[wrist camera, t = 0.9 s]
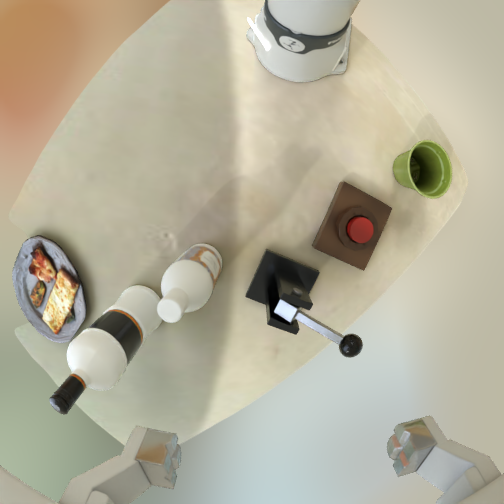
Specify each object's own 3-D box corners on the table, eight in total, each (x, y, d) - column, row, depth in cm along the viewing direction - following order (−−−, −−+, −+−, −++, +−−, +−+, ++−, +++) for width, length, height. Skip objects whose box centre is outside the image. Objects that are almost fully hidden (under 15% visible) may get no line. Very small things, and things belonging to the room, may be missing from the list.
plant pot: (416, 204, 44) (442, 208, 36) (377, 181, 44) (400, 181, 35) (430, 161, 42) (457, 159, 34) (393, 136, 42) (417, 128, 33)
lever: (368, 337, 34) (365, 345, 31) (356, 356, 34) (352, 365, 31) (289, 292, 39) (280, 295, 36) (280, 311, 40) (270, 315, 37)
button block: (340, 181, 44) (347, 181, 40) (386, 207, 45) (397, 209, 41) (311, 245, 47) (316, 250, 43) (359, 267, 47) (367, 273, 43)
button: (353, 212, 41) (356, 213, 40) (373, 222, 42) (377, 224, 40) (343, 235, 42) (346, 237, 41) (363, 244, 43) (367, 247, 41)
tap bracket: (318, 270, 48) (338, 298, 35) (296, 313, 49) (307, 351, 37) (266, 248, 47) (269, 270, 34) (245, 294, 49) (241, 329, 36)
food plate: (40, 213, 46) (30, 215, 43) (106, 290, 49) (98, 297, 46) (10, 286, 50) (2, 290, 47) (65, 352, 54) (58, 359, 50)
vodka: (161, 282, 49) (69, 383, 19) (169, 327, 51) (103, 443, 21) (118, 284, 49) (16, 367, 20) (128, 326, 51) (48, 425, 22)
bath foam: (230, 268, 48) (213, 322, 28) (198, 288, 49) (165, 348, 29) (208, 235, 46) (174, 268, 27) (176, 256, 47) (128, 299, 28)
